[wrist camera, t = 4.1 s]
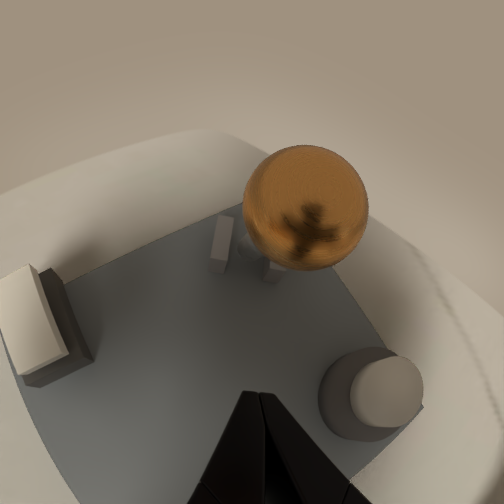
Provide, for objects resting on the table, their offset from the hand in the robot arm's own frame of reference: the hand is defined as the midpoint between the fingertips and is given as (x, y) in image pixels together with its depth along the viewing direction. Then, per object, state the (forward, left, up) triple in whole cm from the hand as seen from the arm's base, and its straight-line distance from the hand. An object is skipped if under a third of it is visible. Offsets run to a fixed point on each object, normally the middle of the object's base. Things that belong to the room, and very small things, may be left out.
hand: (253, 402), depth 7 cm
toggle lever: (+6, -5, -6) cm, 9 cm away
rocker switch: (+7, +6, -4) cm, 10 cm away
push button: (-4, -6, -5) cm, 8 cm away
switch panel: (+1, 0, -8) cm, 8 cm away
